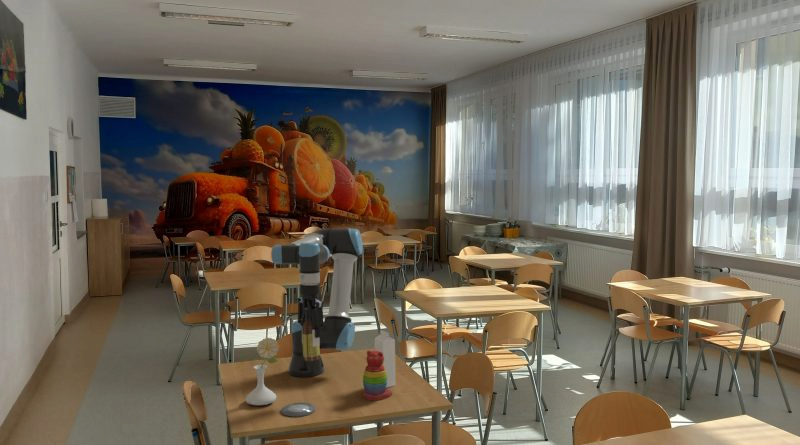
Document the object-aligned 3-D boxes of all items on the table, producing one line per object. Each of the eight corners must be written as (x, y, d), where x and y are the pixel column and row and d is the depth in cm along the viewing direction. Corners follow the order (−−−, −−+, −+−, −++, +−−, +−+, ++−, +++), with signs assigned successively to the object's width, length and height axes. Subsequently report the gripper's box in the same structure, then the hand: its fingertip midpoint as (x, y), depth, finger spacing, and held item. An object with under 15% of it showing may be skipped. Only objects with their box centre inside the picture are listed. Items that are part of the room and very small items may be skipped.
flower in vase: (241, 408, 235) (239, 341, 233) (250, 397, 246) (248, 333, 244) (276, 408, 234) (275, 341, 232) (284, 397, 245) (282, 333, 243)
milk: (383, 388, 254) (382, 334, 252) (374, 384, 259) (373, 331, 257) (395, 385, 258) (395, 331, 256) (387, 381, 263) (386, 328, 261)
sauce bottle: (322, 358, 244) (322, 306, 242) (315, 362, 238) (314, 310, 236) (307, 356, 246) (306, 305, 244) (299, 361, 240) (298, 308, 238)
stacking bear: (394, 394, 248) (393, 349, 247) (382, 402, 239) (381, 355, 238) (369, 390, 253) (369, 345, 251) (357, 398, 244) (356, 352, 242)
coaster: (275, 410, 232) (275, 408, 232) (302, 402, 240) (302, 399, 240) (293, 419, 223) (293, 417, 223) (321, 410, 231) (321, 408, 231)
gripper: (287, 282, 244) (288, 341, 246) (316, 287, 230) (317, 350, 232) (303, 279, 250) (304, 338, 251) (333, 285, 235) (334, 347, 237)
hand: (310, 344), depth 241 cm, fingers closed on sauce bottle, 6 cm apart
